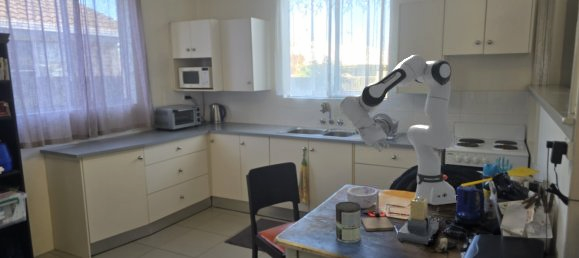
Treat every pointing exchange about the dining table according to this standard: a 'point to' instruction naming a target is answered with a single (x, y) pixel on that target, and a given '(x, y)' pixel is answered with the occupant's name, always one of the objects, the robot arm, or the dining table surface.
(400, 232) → the vise
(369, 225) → the walnut board
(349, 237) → the coffee can
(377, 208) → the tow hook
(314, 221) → the dining table surface
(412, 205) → the pale yellow block
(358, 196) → the white bowl
